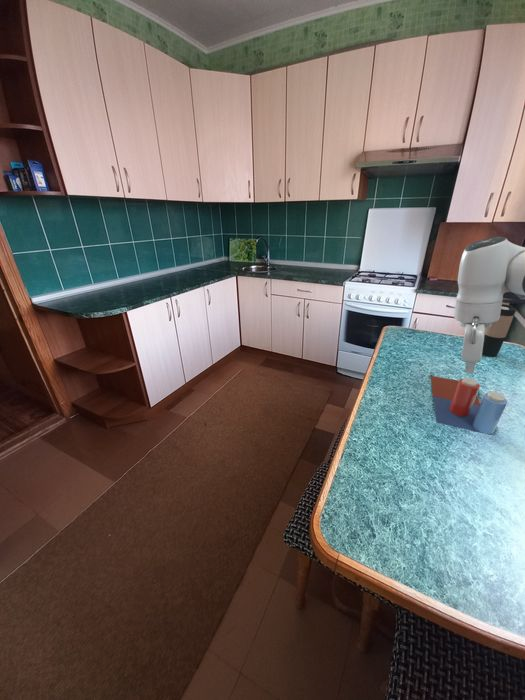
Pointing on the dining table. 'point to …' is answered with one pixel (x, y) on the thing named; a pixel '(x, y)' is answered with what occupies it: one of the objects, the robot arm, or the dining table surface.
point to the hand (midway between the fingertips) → (470, 363)
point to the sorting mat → (442, 401)
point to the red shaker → (464, 397)
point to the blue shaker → (489, 412)
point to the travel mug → (497, 332)
